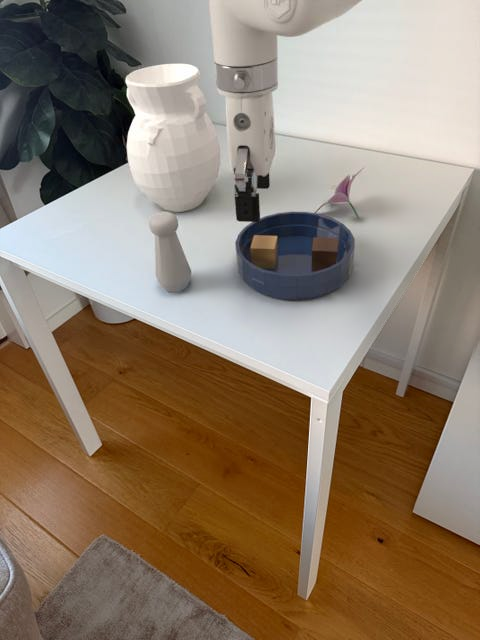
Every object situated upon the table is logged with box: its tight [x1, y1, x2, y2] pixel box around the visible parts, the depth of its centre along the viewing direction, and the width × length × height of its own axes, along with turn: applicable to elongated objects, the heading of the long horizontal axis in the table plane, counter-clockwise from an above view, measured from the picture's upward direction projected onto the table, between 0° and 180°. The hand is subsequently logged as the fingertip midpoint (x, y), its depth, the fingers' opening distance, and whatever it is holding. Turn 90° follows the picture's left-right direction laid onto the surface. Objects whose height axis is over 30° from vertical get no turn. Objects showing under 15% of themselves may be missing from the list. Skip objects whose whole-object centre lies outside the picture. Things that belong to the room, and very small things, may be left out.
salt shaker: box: [148, 210, 192, 293], centre depth 76 cm, size 6×6×13 cm
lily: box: [314, 166, 365, 220], centre depth 91 cm, size 12×12×10 cm
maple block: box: [250, 235, 278, 269], centre depth 81 cm, size 4×4×4 cm
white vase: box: [124, 63, 221, 213], centre depth 94 cm, size 19×18×25 cm
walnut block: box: [311, 237, 338, 271], centre depth 79 cm, size 4×4×4 cm
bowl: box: [235, 211, 356, 301], centre depth 80 cm, size 19×19×5 cm
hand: (254, 203), depth 70 cm, fingers open, 9 cm apart
